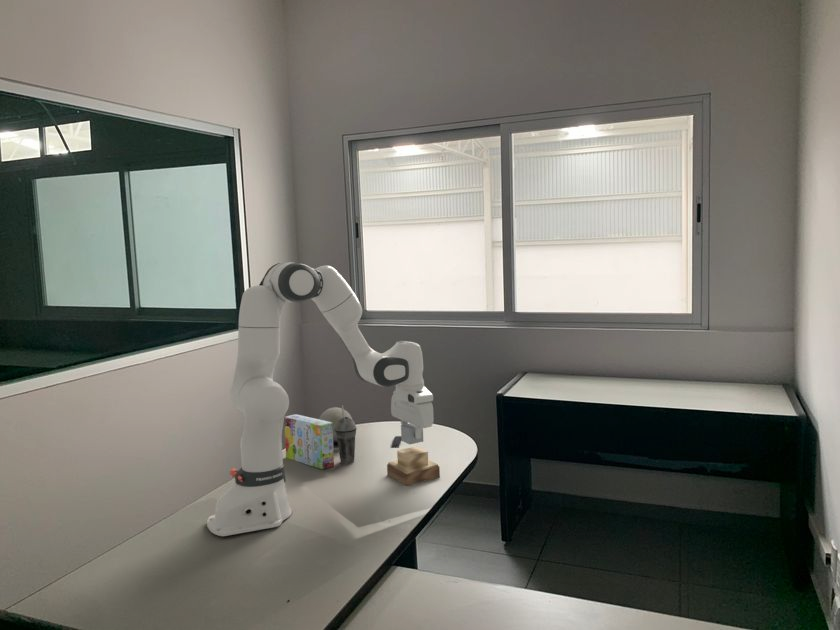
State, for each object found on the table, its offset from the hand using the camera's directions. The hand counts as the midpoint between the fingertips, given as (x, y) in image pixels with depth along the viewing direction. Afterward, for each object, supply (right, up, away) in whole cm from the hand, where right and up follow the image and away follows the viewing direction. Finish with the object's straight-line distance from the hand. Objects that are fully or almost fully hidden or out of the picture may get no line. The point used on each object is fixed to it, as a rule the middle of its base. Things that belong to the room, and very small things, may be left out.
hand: (412, 435), depth 195 cm
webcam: (-28, -11, +34) cm, 45 cm away
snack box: (-35, -13, +19) cm, 42 cm away
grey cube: (0, -2, 0) cm, 2 cm away
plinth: (0, -13, +1) cm, 13 cm away
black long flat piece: (-6, -11, +35) cm, 37 cm away
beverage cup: (-22, -12, +17) cm, 30 cm away
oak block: (0, -9, +1) cm, 9 cm away
